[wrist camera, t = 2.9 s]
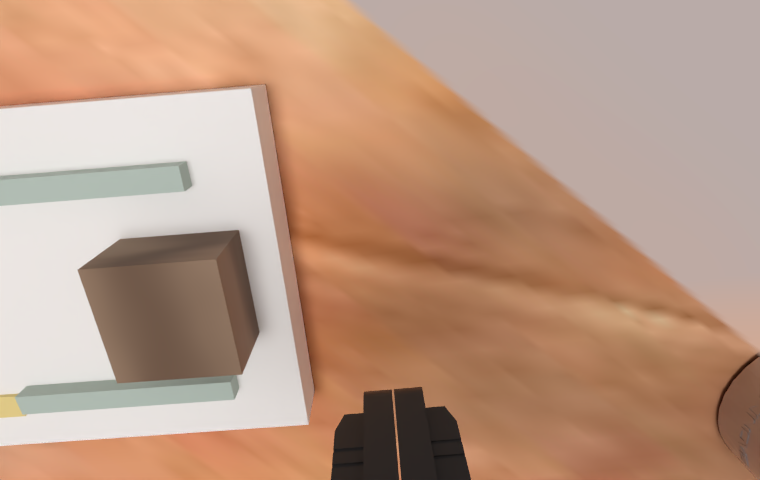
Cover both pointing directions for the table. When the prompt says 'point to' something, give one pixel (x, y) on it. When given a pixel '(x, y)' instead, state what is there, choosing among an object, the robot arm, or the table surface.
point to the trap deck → (134, 220)
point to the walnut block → (173, 306)
